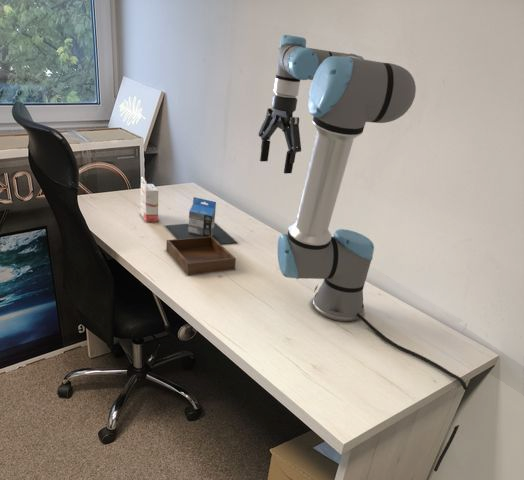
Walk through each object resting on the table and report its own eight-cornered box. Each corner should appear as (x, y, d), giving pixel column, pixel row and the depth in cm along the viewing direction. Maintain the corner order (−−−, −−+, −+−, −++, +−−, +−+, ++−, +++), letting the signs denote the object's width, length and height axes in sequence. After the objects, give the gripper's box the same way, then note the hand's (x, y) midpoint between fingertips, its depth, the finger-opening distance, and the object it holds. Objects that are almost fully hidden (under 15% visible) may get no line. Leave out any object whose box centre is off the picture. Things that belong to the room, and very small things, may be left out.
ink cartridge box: (158, 221, 182) (159, 182, 174) (145, 222, 180) (145, 182, 172) (153, 213, 188) (153, 175, 180) (140, 214, 186) (139, 175, 178)
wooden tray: (234, 269, 157) (235, 258, 155) (187, 275, 149) (188, 263, 147) (211, 246, 170) (211, 236, 168) (166, 250, 162) (166, 239, 160)
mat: (236, 243, 175) (237, 242, 175) (185, 248, 166) (185, 247, 166) (213, 222, 189) (213, 222, 189) (165, 226, 179) (165, 225, 179)
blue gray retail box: (187, 233, 176) (189, 199, 169) (191, 229, 179) (192, 196, 172) (210, 238, 175) (213, 204, 168) (213, 234, 178) (216, 201, 171)
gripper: (320, 104, 141) (307, 177, 153) (272, 88, 157) (263, 156, 169) (301, 103, 137) (289, 179, 149) (253, 87, 153) (245, 156, 165)
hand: (275, 167), depth 159 cm, fingers open, 13 cm apart
